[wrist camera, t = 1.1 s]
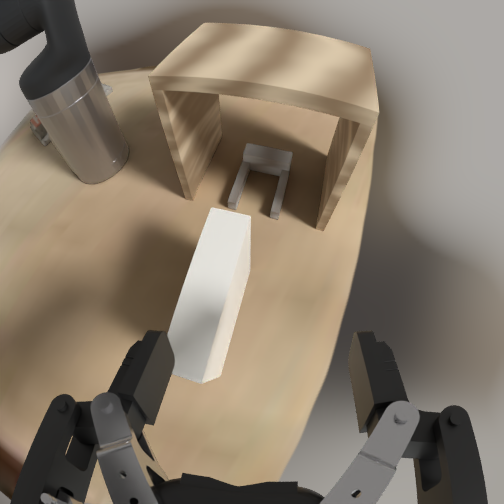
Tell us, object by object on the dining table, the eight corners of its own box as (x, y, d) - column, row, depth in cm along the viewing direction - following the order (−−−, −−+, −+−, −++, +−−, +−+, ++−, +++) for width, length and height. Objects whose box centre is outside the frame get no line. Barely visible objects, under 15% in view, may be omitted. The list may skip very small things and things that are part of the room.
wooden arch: (185, 199, 35) (148, 76, 18) (216, 134, 40) (204, 22, 22) (323, 230, 34) (379, 112, 17) (333, 159, 38) (370, 48, 21)
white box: (192, 368, 27) (157, 368, 16) (224, 263, 32) (211, 207, 21) (220, 376, 27) (201, 383, 16) (250, 270, 32) (250, 216, 21)
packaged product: (34, 132, 36) (23, 119, 39) (45, 148, 41) (33, 133, 43) (108, 74, 42) (88, 67, 44) (114, 92, 46) (95, 83, 48)
